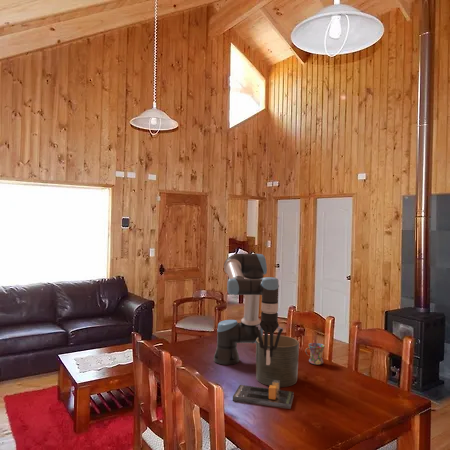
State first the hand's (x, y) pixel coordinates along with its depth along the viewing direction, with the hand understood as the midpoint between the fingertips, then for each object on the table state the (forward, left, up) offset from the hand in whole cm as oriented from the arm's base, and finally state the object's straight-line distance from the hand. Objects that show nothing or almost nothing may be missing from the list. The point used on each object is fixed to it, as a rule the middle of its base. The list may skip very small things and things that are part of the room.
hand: (268, 363), depth 178 cm
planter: (0, +29, -18) cm, 34 cm away
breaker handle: (+2, 0, -15) cm, 15 cm away
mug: (+18, +61, -18) cm, 66 cm away
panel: (-2, +3, -17) cm, 18 cm away
